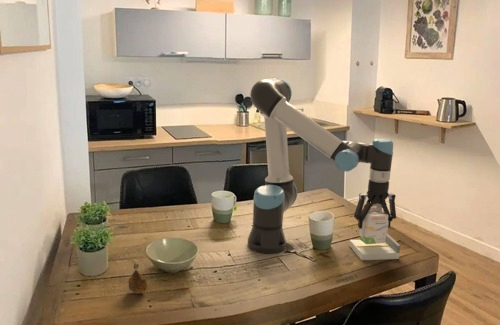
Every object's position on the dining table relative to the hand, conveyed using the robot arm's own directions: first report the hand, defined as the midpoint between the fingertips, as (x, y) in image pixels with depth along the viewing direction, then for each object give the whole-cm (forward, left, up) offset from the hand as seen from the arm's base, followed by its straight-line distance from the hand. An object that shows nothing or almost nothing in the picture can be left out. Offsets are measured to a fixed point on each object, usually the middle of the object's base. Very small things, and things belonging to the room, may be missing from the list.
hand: (372, 235), depth 183 cm
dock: (+1, 0, -7) cm, 7 cm away
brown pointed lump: (-89, -22, -7) cm, 92 cm away
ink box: (0, 0, -3) cm, 3 cm away
